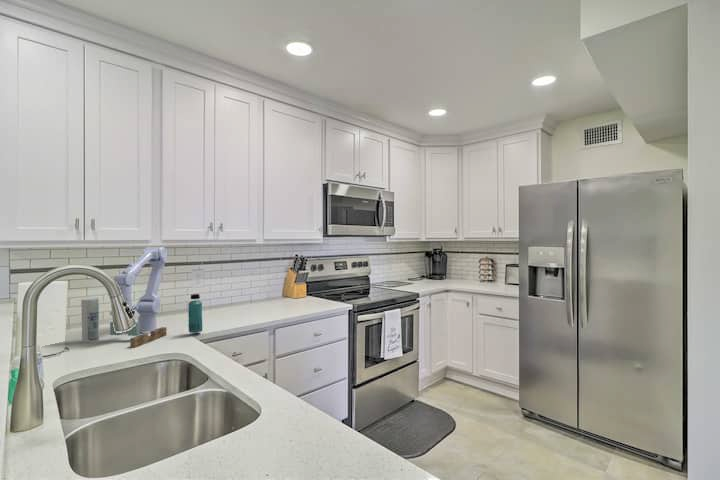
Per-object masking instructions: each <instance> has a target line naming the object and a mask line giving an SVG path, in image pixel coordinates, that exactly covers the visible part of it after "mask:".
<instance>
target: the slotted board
mask: <svg viewBox="0 0 720 480" xmlns="http://www.w3.org/2000/svg"><path fill="white" fill-rule="evenodd" d="M163 336H164V337H166V336H167V327H166V326H162V327H158V328H157V329H155V330H153V331H151V332H150V335H149V333H144V334H143V333H140V335H138V336H134V337H131V338H130V339H129V340H130V344H129V346H130V348H132V349H133V348H138V347H141V346H143V345H145V344H148V343H150V342H153V341H156V340H159V339H161V338H163ZM160 337H161V338H160Z"/></svg>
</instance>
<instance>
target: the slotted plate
mask: <svg viewBox="0 0 720 480" xmlns="http://www.w3.org/2000/svg"><path fill="white" fill-rule="evenodd" d="M135 322H136V326H135V327H133V328H132V329H131V330H129V331H127V336H128V337H131V336H134V337H136V336H138V335H141V333H140V322H138V321H135ZM109 331H110V333H109V334H110V335H111V336H120V335H123V332H122V333H116V332H115V331H114V327H113V321H110V322H109Z"/></svg>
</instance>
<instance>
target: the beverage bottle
mask: <svg viewBox="0 0 720 480" xmlns="http://www.w3.org/2000/svg"><path fill="white" fill-rule="evenodd" d="M200 297H201V296H200V294H199V293H194V294H191V295H190V300H191V301H190V302H188V303H187V304H188V308H187V309H188V315H187V316H188V332H189V333H190V334H196V333H200V332H202V331H203V302H202V301H200V300H198V299H201V298H200Z"/></svg>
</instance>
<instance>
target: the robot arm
mask: <svg viewBox="0 0 720 480" xmlns="http://www.w3.org/2000/svg"><path fill="white" fill-rule="evenodd" d="M167 258H168V251H167V249H166V248H165V247H164V246H157V247H155V246H153V247H152V246H151V247H150V246H147V247H145V248H144V249H143V250H142V254H141V255H140V256H139V258H138V259H137V260H136V262H133V263H129V264H128V266H126V268H125V269H123V270H122V272H121V273H117V274H116V275H115V276H114V279H113V280H115V281H116V282H117V284H118V285H119V287H120V290H121V293H122V295H123V298H124V300H125V301H126V302H127V304H128V305H129V307H130V309H131V311H132V313H133V316H134V315H135V313H136V312H137V313H138V318H137V322H140V334H149V333H151V331H153V330H155V329H158V328H157V314H158V312H159V311H160V309H161V299H160V297H158V296H157V295H158V291H159V288H160V283H161V280H162V275H163V273H164V272H163V271H164V268H165V264H166V262H167ZM147 263H148V264H150V265H151V266H152V267H151V271H150V274H149V278H148V281H147V286H146V289H145V294H143V295H142V296H141V297H140V298H139V299H138V301H137V302H136V304H134V305H133V304H132V285H133V284H134V283H135V279H136V278H137V276H138V274H140V273H141V272H142V268H143V267H144V266H145V265H146V264H147ZM109 316H113V315H112V310H110V311H109Z"/></svg>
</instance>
